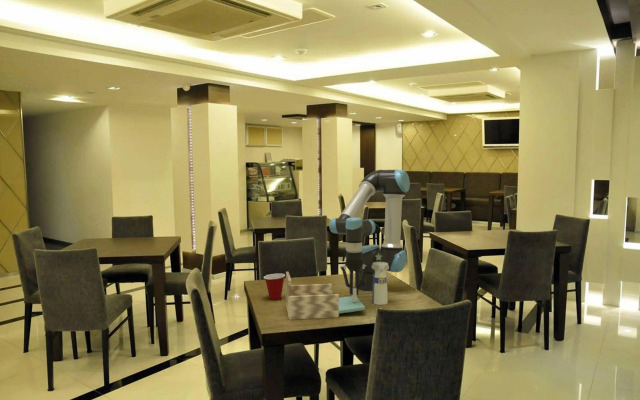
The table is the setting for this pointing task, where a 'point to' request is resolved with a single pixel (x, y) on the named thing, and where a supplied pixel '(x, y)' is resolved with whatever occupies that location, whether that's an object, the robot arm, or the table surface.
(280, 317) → the table surface
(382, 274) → the blue-banded white tube
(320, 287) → the crate
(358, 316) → the table surface
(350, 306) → the teal flat panel
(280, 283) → the plastic cup
